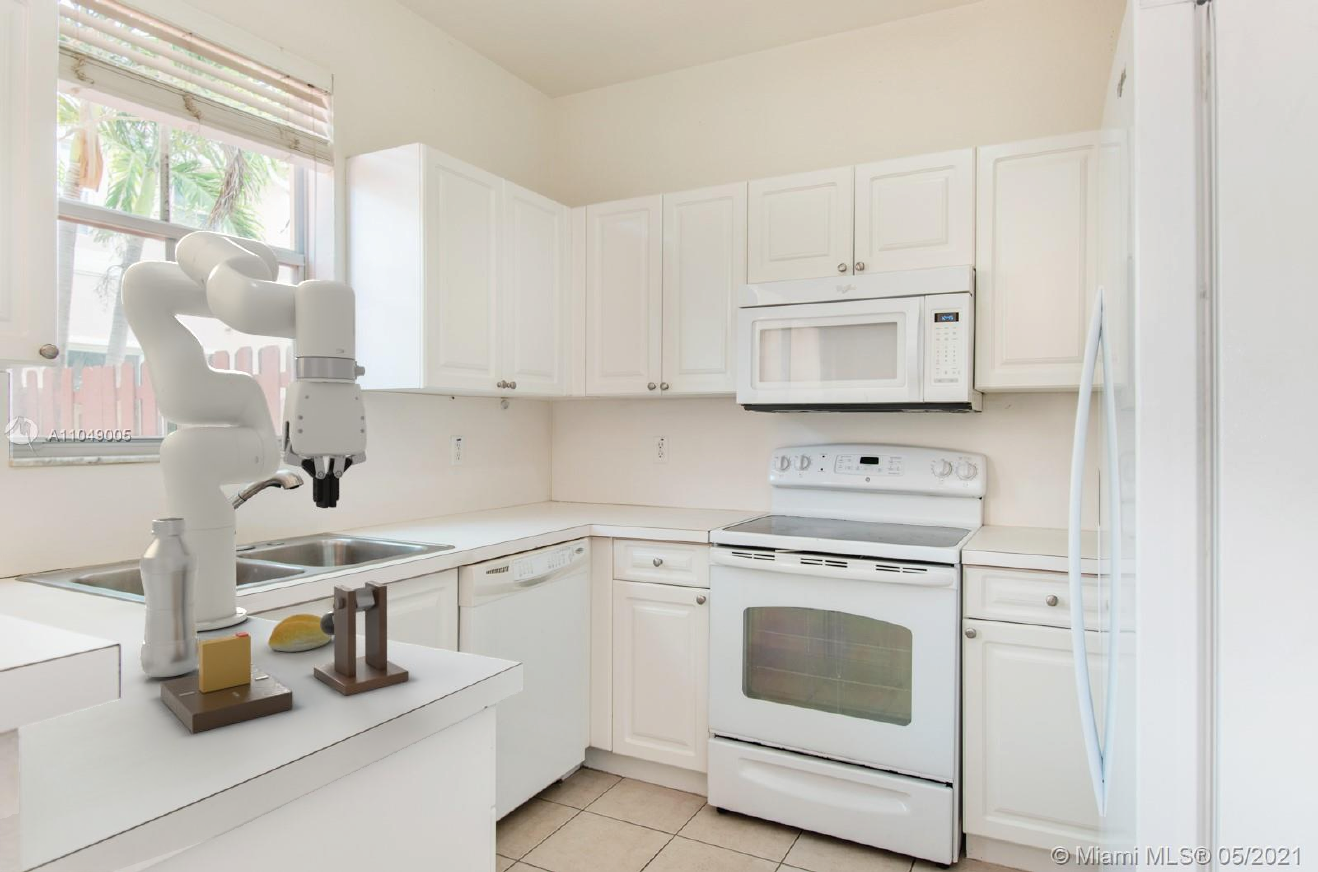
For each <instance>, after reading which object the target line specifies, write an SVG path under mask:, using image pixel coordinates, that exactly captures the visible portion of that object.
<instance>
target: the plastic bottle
mask: <svg viewBox="0 0 1318 872" xmlns="http://www.w3.org/2000/svg"><path fill="white" fill-rule="evenodd" d="M185 533H187V529H186V518H167V517H166V518H164V517H163V518H157V519H153V520H152V530H151V535H152V536H153V540H152V541H151V542H150V544H149V545H148V546H147V547H146V549H145V550H144V551H143V553H142V555H141V557H140V558H139V571H140V578H141V583H142V588H143V595H144V604H145V607H144V608H145V609H144V610H145V621H144V632H143V633H144V634H143V635H144V636H143V641H142V646H141V650H140V651H141V652H140V664H141V668H142V670H143V672H144V673H145V674H146V675H147V676H148V677H151V678H165V677H166V678H171V677H172V678H173V677H175V676H179V675H184V674H188V673H190V672H193V671H194V670H195V669H196V668H197V666H199V642H200V637H199V635H198V631H197V628H196V619H195V610H194V608H195V602H194V599H195V586H196V579H197V572H198V565H199V557H198V555H197V552H196V550H195V549H194V548H193V546H192V545H191V544H190V543H189V542H188V540H187V539H186V538H185V535H184V534H185Z"/></svg>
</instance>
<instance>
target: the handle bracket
mask: <svg viewBox="0 0 1318 872" xmlns="http://www.w3.org/2000/svg"><path fill="white" fill-rule="evenodd" d="M370 586H371V588H372V593H373V598H374V602H375V604H374V605H373V606H372V607H371V608H369V609H368V610H367V611H364V656H363V655H362V656H358V657H357V613H356V590H354V589H353V588H351V587H348V586H345V585H342V584H339V585H334V586H333V611H334V635H333V649H334V650H333V658H334V659H333V662H330V663H325V664H321V665H316V666H313V676H314V677H315V678H317V679H318V680H320V681H322V682H323V683H325V684H326V685H328V686H329V687H331V688H332V689H334V690H336V691H337V692H339V693H341V694H342V695H344V696H351V695H354V694H359V693H362V692H367V691H370V690H376V689H380V688H384V687H386V686H387V687H388V686H391V685H395V684H399V683H403V682H407V681H409V680H410V679H409V670H407V669H406V668H404V667H401V666H399V665H397V664H395V663H393V662H392V661H389V660H388V585H386V584H383V583H380V582H377V581H374V580H365V582H364V587H370Z"/></svg>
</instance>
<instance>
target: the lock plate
mask: <svg viewBox="0 0 1318 872" xmlns="http://www.w3.org/2000/svg"><path fill="white" fill-rule="evenodd" d="M160 699H161V701H162V702H163V703H164V704H165V705H166V706H167V707H168V708H169V709H170V710H171V711H172V713H173V714H174V715H175V716H176V717H177V718H178V719H179V720H180V721H181V722H182V723H183V724H184V726H185V727H187V729H189V731H190V732H191V734H195V733H200V732H203V731H207V730H212V729H216V728H220V727H224V726H228V725H233V724H236V723H240V722H245V721H248V720H252V719H257V718H261V717H265V716H269V715H274V714H278V713H281V712H284V711H285V712H286V711H290V710H292V709H293V691H292V690H291V689H289V688H288V687H286V686H285V685H284V684H282V683H280V682H279V681H278V680H276V679H275V678H274V677H273V676H271V675H269V674H268V673H267V672H265V671H263V670H262V669H261V668H259V667H258V666H257V665H255V664H254V663H251V683H247V684H243V685H238V686H233V687H229V688H224V689H219V690H215V691H210V692H205V693H203V692H201V691H200V690H199V674H194V675H190V676H185V677H180V678H175V679H170V680H165V681H161V682H160Z"/></svg>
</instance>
